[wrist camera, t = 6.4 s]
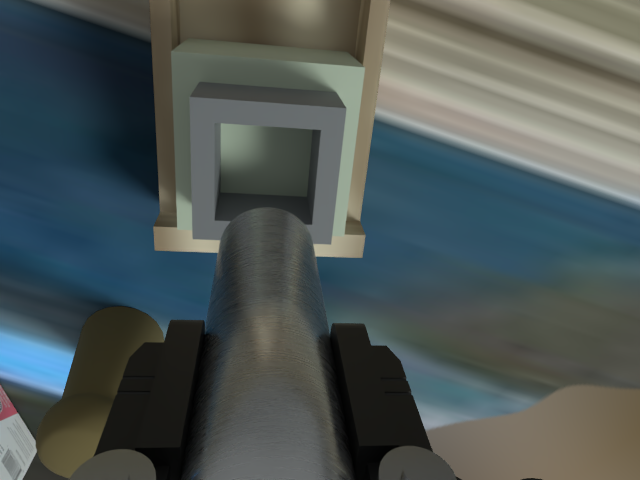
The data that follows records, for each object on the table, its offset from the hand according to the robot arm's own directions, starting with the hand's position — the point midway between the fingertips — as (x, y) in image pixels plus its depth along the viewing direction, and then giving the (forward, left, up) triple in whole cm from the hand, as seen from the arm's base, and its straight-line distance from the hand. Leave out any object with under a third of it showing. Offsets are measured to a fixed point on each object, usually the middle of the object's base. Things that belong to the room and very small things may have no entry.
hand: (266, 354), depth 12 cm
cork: (+10, +18, -23) cm, 31 cm away
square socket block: (0, 0, -22) cm, 22 cm away
